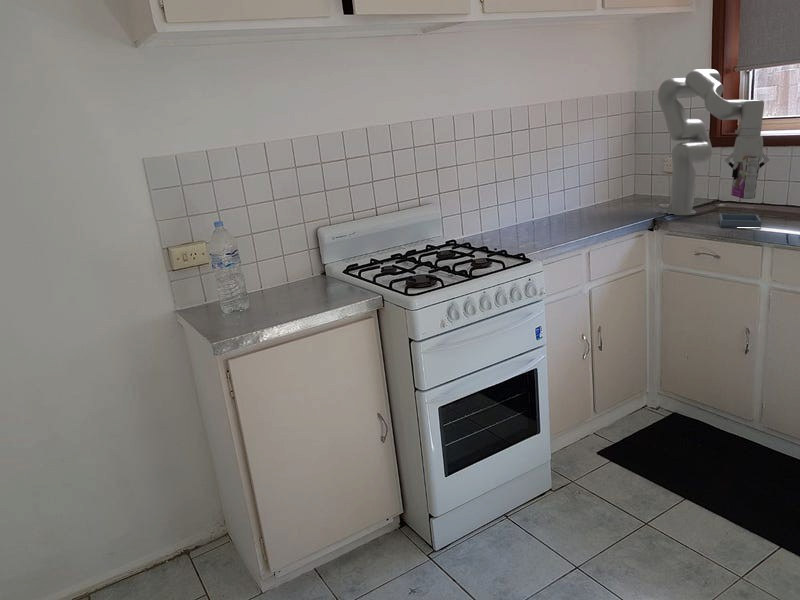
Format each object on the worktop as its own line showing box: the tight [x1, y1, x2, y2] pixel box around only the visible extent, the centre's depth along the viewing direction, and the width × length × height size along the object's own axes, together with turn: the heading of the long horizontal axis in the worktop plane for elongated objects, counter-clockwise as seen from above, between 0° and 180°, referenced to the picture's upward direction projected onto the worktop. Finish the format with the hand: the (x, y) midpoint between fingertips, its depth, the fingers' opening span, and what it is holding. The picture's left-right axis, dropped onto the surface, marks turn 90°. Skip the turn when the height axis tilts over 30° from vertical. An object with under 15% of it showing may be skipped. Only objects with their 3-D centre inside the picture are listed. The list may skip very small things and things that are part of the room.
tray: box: [718, 213, 762, 229], centre depth 260 cm, size 14×16×3 cm
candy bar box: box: [730, 156, 760, 200], centre depth 254 cm, size 11×5×16 cm, turn 176°
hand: (744, 178), depth 255 cm, fingers closed on candy bar box, 6 cm apart
